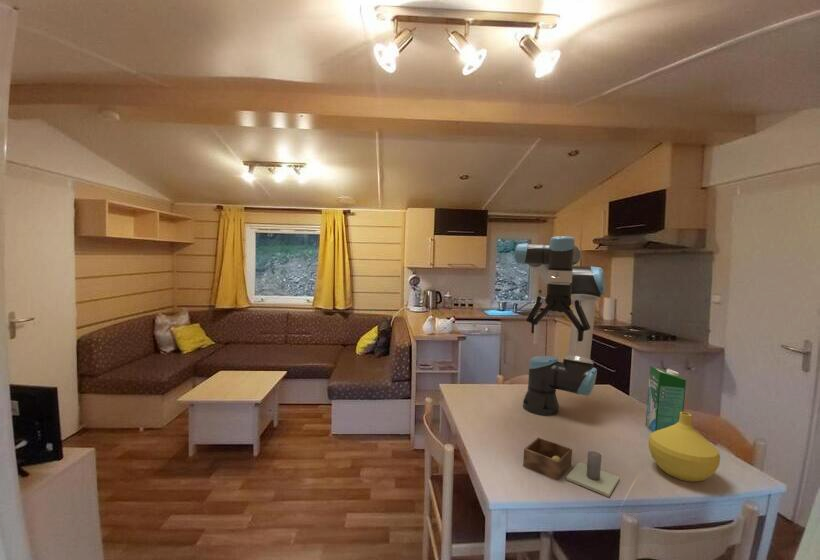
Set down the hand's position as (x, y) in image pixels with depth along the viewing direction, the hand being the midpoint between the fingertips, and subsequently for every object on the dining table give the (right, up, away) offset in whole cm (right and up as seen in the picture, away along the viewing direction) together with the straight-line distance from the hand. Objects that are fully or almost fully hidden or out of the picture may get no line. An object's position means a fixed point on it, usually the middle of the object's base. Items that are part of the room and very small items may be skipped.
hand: (555, 347), depth 127 cm
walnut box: (-5, -37, -6) cm, 38 cm away
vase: (+37, -39, -7) cm, 54 cm away
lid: (+6, -38, -14) cm, 41 cm away
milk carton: (+51, -38, +22) cm, 67 cm away
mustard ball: (-2, -37, -6) cm, 37 cm away
